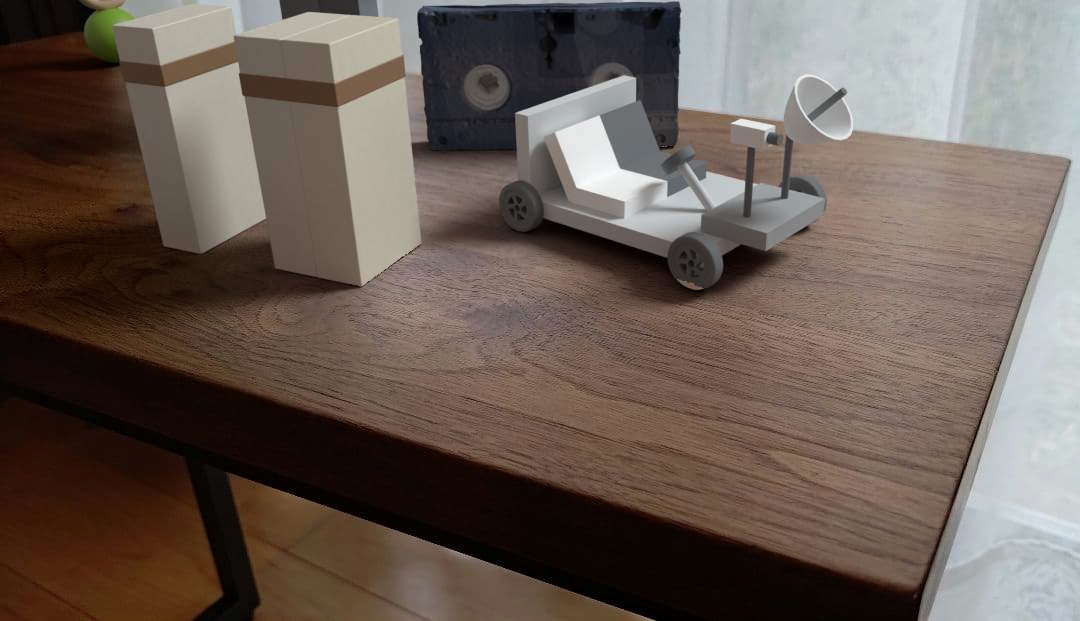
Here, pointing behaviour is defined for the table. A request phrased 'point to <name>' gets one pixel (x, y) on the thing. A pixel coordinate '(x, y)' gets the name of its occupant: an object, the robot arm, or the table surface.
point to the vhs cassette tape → (541, 64)
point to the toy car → (665, 177)
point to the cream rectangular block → (191, 124)
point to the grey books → (328, 7)
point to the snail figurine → (104, 28)
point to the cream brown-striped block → (331, 143)
